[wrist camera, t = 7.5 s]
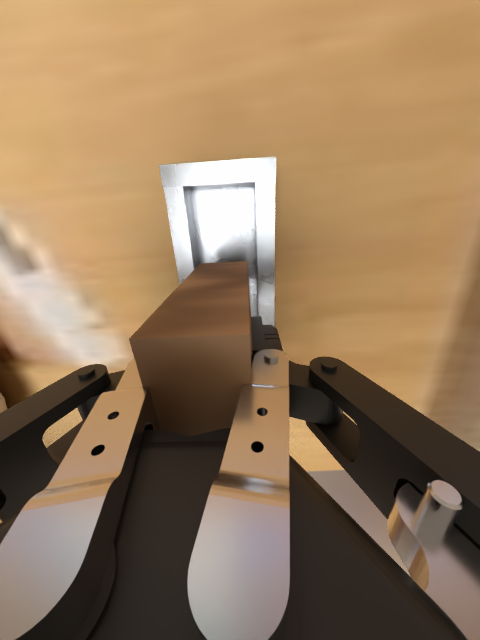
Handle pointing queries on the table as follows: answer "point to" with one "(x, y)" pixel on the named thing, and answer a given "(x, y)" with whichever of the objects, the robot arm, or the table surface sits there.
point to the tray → (225, 220)
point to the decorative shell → (2, 404)
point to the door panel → (198, 349)
